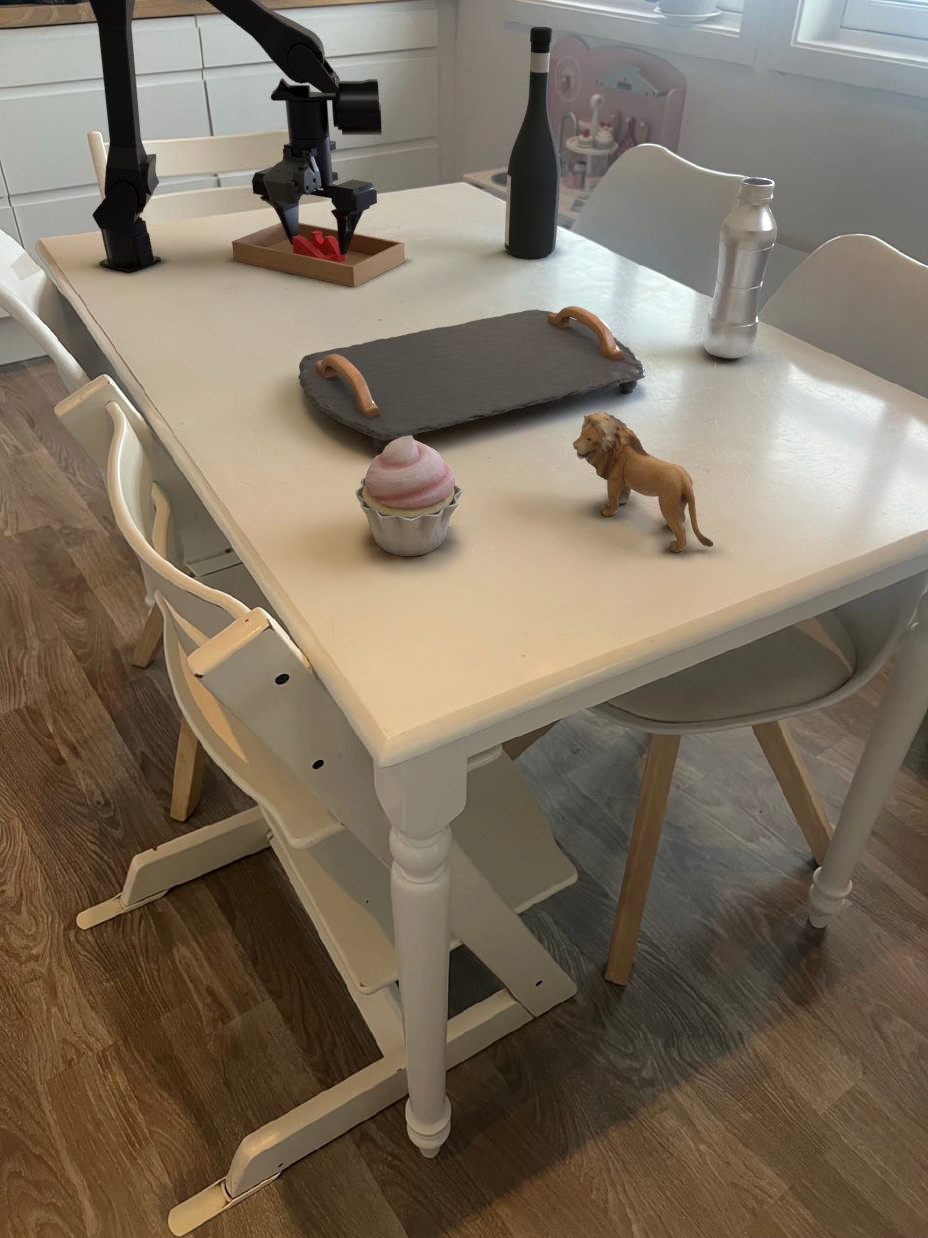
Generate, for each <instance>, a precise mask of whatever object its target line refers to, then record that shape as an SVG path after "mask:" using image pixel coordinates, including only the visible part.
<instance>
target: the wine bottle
mask: <svg viewBox="0 0 928 1238" xmlns="http://www.w3.org/2000/svg"><path fill="white" fill-rule="evenodd" d="M529 42H530V57H529V58H530V60H529V61H530V63H529V85H528V99H527V106H526V110H525V115H524V117H523V120H522V123H521V126H520V129H519V131H518V134H517V136H516V138H515V141H514V144H513V146H512V149H511V152H510V156H509V160H508V167H507V171H506V196H505V225H504V248H505V249H506V251H507V252H508V253H509V254H511V255H513V256H515V257H519V258H523V259H538V258H544V257H547V256H549V255H551V254H552V253H553V252H554V251H555V249H556V247H557V246H556V245H557V235H558V233H557V232H558V218H559V203H560V189H561V176H562V173H561V159H560V153H559V148H558V145H557V144H558V143H557V142H556V138H555V134H554V131H553V128H552V124H551V119H550V115H549V114H550V113H549V106H548V89H549V87H548V86H549V71H550V68H549V67H550V58H551V56H550V55H551V45H552V44H551V43H552V42H553V29H552V27H548V26H533V27H531V28H530V32H529Z"/></svg>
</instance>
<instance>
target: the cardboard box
mask: <svg viewBox="0 0 928 1238" xmlns="http://www.w3.org/2000/svg"><path fill="white" fill-rule="evenodd" d="M315 231H320V232H322V236H323V238H324V237H327V236H334V237H335V238H336V240H337V242H338V230H337V229H335V228H331V227H325V226H319V225H314V224H309V223H304V222H299V223H298V235H300V236H302V237H305V238H306V239H307V240H309V241H310V242H311V243H312V234H311V232H315ZM231 247H232V253H233V255H232V256H233V261H235V262H238V263H239V262H240V263H244V264H247V265H248V264H249V265H252V266H258V267H262V268H266V269H272V270H276V271H279V272H284V273H288V274H294V275H298V276H302V277H306V278H311V279H316V280H320V281H324V282H325V281H326V282H329V283H334V284H339V285H342V286H346V287H351V288H355V287H358V286H359V285H361V284H364V283H366V282H368V281H370V280H372V279H373V278H376V277H377V276H380V275H381V274H384V273H385V272H388V271H390V270H392V269H394V268H396V267H397V266H399V265H401V264H403V263H405V262H406V258H405V254H406V253H405V242H401V241H397V240H390V239H386V238H381V237H376V236H370V235H365V234H359V233H355V232H354V234H353V237H352V239H351V242H350V245H349V248H348V250H347V253H346V254H345V261H343V262H339V263H338V262H333V261H328V260H323V259H319V258H314V257H309V256H304V255H300V254H295V253H294V252H293V245H291V243H290V241H289V239H288V237H287V234H286V232H285V230H284V228H283V225H282V223H281V222H279V223H276V224H273V225H271V226H268V227H265V228H263V229H261V230H258V231H255V232H253V233H250V234H247V235H245V236H243V237H240V238H238V239H235V240H232V241H231Z"/></svg>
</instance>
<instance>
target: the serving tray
mask: <svg viewBox="0 0 928 1238" xmlns="http://www.w3.org/2000/svg"><path fill="white" fill-rule="evenodd" d="M298 369H299V375H298V380H299V385H300V386H301V388H302V389H303V393H304V396H305V397H306V398H307V399H308V400H309V401H310V402H311V403H312V405H314V406H315V407H316V408H317V409H318V410H319V411H320V412H321V413H323V414H325V415H327V416H328V418H330V419H332V420H333V421H336V422H338V423H339V424H342V425H344V426H345V427H347V428H349V429H351V430H354V431H356V432H359V433H361V434H364V435H366V436H369V437H370V438H373V443H372V444H373V448H374V449H375V451H376V452H377V454H378V455H380V454H382V452H383V450H384V449H385V447H386V446H387V445H388V444H389V443H391V442H392V441H394V440H396V439H398V438H401V437H403V436H404V437H405V436H412V437H413V436H415V435H418V434H424V433H427V432H431V431H437V430H439V429H440V430H441V429H444V428H448V427H452V426H456V425H460V424H465V423H468V422H469V423H470V422H473V421H476V420H479V419H484V418H489V417H492V416H497V415H502V414H505V413H509V412H513V411H516V410H521V409H527V408H529V407H532V406H538V405H542V404H545V403H549V402H552V401H558V400H562V399H565V398H571V397H574V396H577V395H582V394H585V393H589V392H594V391H596V390H602V389H606V388H610V387H614V386H618V388H619V390H620V392H621V393H623V394H631V393H633V392H634V390H635V389H636V388H637V385H638V381H639V380H641V379H644V378H646V376H647V374H646V370H645V368H644V365H643V363H642V362H641V360H640V359H638V357H637V356H636V354H635V353H634V352H633V351H632V350H631V348H630V347H628V346H625V344H623V343H622V342H621V341H619V340H618V339H617V338H616V337H615V336H614V335H613V333H612V331H611V329H610V327H609V326H608V325H607V323H606V322H605V321H603V319H601V318H600V317H599V316H597V315H596V314H595V313H593V312H591V311H589V310H588V309H586V308H583V307H581V306H576V305H569V306H566V307H563V308H562V309H561V310H559V311H558V312H553V311H549V310H543V309H542V310H540V309H528V310H522V311H518V312H513V313H512V312H511V313H507V314H502V315H499V316H493V317H492V316H491V317H486V318H480V319H475V320H471V321H467V322H465V323H460V324H455V325H449V326H441V327H435V328H430V329H425V330H420V331H417V332H411V333H410V332H409V333H407V334H403V335H397V336H391V337H390V336H389V337H387V338H378V339H375V340H370V341H366V342H363V343H360V344H359V343H358V344H352V345H349V346H345V347H344V346H343V347H336V348H332V349H328V350H323V351H316V352H313V353H310V354H309V353H308V354H306V355H304V356H303V357H302V358H301V359H300V362H299V364H298Z"/></svg>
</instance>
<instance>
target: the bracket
mask: <svg viewBox="0 0 928 1238" xmlns="http://www.w3.org/2000/svg"><path fill="white" fill-rule="evenodd" d="M311 234H312V243H311V242H310V241H309V240H307V239H306V238H305V237H302V236H300V235H298V236H294V237H292V242H293V252H294V253H295V254H300V255H304V256H309V257H314V258H319V259H323V260H328V261H333V262H338V263H339V262H343V261H345V255H340V250H339V244H338V242H337V240H336V238H335V237H334V236H327V237H324V238H323V236H322V232H320V231H315V232H311Z"/></svg>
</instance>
